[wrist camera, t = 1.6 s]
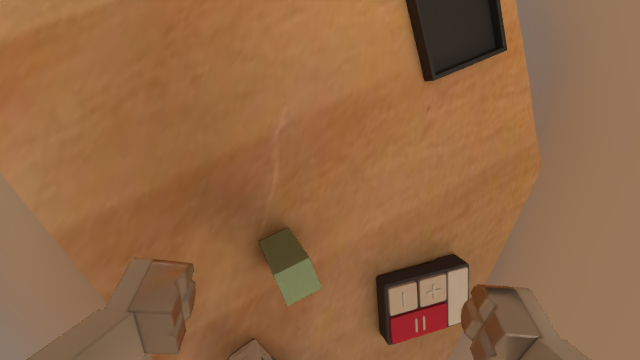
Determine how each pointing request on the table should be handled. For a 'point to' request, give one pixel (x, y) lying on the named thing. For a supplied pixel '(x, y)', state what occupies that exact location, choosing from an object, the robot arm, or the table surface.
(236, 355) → the ink box
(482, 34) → the black tray
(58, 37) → the table surface
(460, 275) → the calculator
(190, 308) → the robot arm
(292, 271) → the tall green rectangular block
